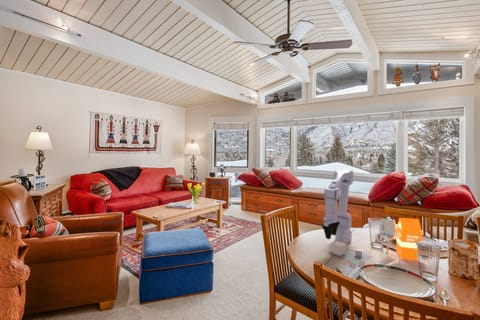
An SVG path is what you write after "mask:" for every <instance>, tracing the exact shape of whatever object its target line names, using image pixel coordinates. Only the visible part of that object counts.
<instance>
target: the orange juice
mask: <svg viewBox="0 0 480 320" xmlns="http://www.w3.org/2000/svg"><path fill="white" fill-rule="evenodd" d="M396 229H397V235H396V254H397V256H398V257H400V259H401V260H402V259H403V260H413V261H419V260H418V258H417V245H416V241H422V239H423V232H422V227H421V223H420V219H419V218H409V217H408V218H407V217H399V219H398V223H397V224H396ZM422 242H423V241H422Z"/></svg>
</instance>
